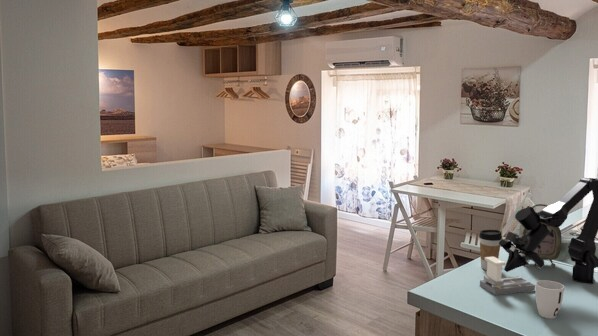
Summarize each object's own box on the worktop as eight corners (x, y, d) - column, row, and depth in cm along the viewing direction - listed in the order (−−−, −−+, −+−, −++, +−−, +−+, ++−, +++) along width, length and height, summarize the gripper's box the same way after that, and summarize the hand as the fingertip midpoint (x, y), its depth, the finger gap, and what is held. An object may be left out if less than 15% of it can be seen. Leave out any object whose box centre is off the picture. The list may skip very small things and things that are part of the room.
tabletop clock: (520, 266, 209) (523, 205, 205) (516, 259, 217) (519, 200, 214) (559, 269, 205) (564, 207, 202) (553, 262, 214) (558, 202, 210)
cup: (560, 322, 159) (562, 291, 157) (531, 316, 163) (533, 286, 162) (563, 313, 166) (565, 283, 164) (535, 307, 170) (537, 278, 168)
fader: (492, 278, 189) (494, 256, 187) (504, 284, 182) (505, 262, 181) (483, 279, 188) (484, 257, 186) (494, 285, 181) (495, 263, 180)
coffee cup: (501, 272, 203) (504, 234, 201) (479, 270, 204) (480, 233, 202) (498, 264, 211) (500, 228, 209) (476, 263, 213) (478, 227, 210)
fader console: (518, 281, 193) (518, 274, 192) (534, 290, 184) (535, 283, 184) (479, 285, 189) (480, 278, 189) (494, 295, 180) (495, 287, 180)
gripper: (504, 217, 193) (476, 249, 192) (538, 230, 175) (508, 265, 174) (521, 236, 196) (494, 267, 195) (557, 251, 178) (527, 285, 177)
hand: (505, 270), depth 185 cm, fingers closed
